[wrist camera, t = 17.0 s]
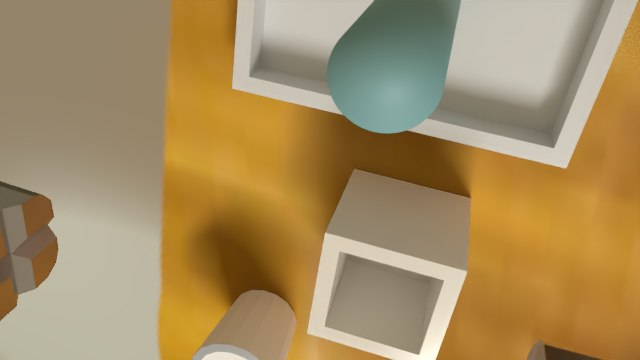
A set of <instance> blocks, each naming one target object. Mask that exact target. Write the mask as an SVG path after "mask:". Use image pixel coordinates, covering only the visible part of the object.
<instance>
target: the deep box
mask: <svg viewBox="0 0 640 360" xmlns="http://www.w3.org/2000/svg"><path fill="white" fill-rule="evenodd" d="M470 206H471V198H468V197H464V196H460V195H457V194H453V193H449V192H445V191H441V190H437V189H433V188H429V187H425V186H421V185H417V184H413V183H409V182H405V181H401V180H398V179H394V178H390V177H386V176H382V175H378V174H374V173H370V172H366V171H362V170H358V169H354V170H353V172H352V174H351V177H350V179H349V181H348V183H347V186H346V188H345V190H344V192H343V194H342V197H341V199H340V201H339V203H338V205H337V208H336V210H335V212H334V214H333V216H332V219H331V221H330V223H329V225H328V228H327V230H326V232H325V237H324V242H323V248H322V253H321V259H320V264H319V270H318V275H317V281H316V286H315V292H314V297H313V303H312V309H311V314H310V320H309V325H308V331H307V333H308V334H311V335H315V336H318V337H321V338H324V339H328V340H331V341H334V342H338V343H341V344H344V345H347V346H351V347H354V348H357V349H360V350H364V351H367V352H370V353H374V354H377V355H380V356H383V357H387V358H390V359H393V360H436V357H437V354H438V351H439V349H440V346H441V343H442V340H443V337H444V335H445V332H446V329H447V326H448V324H449V321H450V318H451V315H452V313H453V310H454V307H455V304H456V302H457V299H458V296H459V293H460V290H461V288H462V285H463V282H464V279H465V277H466V274H467V268H468V247H469V227H470Z"/></svg>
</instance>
